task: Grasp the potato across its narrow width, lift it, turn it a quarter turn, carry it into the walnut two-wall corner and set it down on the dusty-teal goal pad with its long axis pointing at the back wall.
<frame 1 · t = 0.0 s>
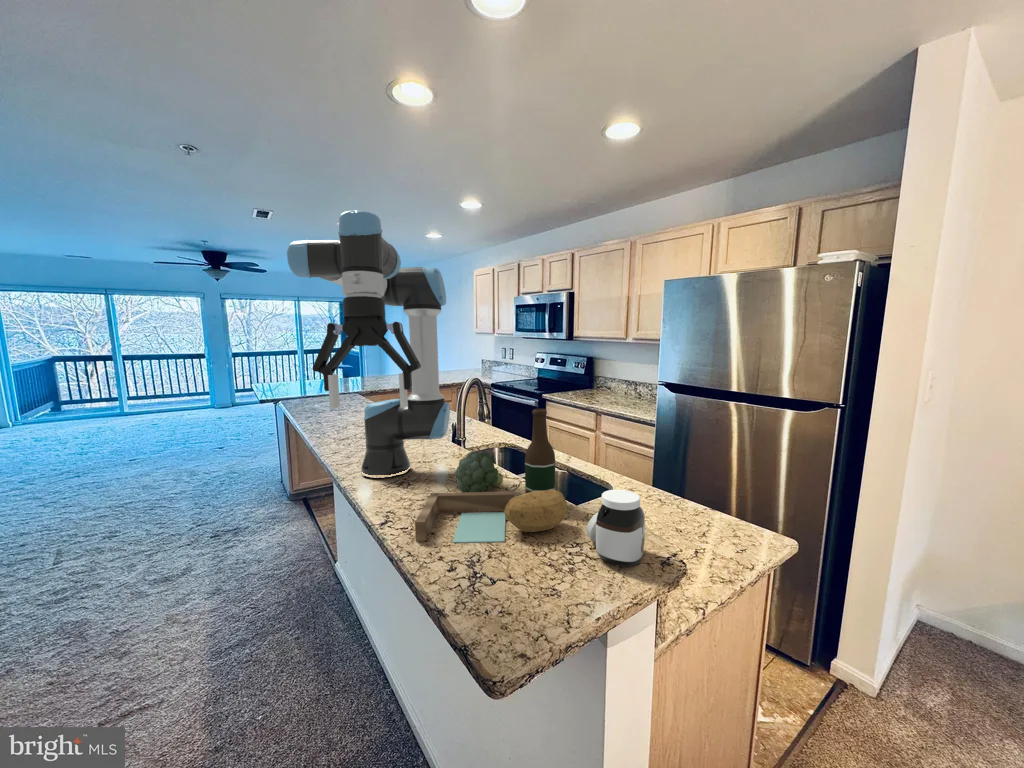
hand: (369, 407, 79), 28 cm above the worktop, fingers open, 13 cm apart
goal pad: (481, 526, 88), on the worktop
corner arena: (468, 523, 90), on the worktop
spread jar: (613, 553, 76), on the worktop
potato: (536, 530, 86), on the worktop
vegetable: (480, 492, 110), on the worktop
beer bottle: (540, 505, 100), on the worktop
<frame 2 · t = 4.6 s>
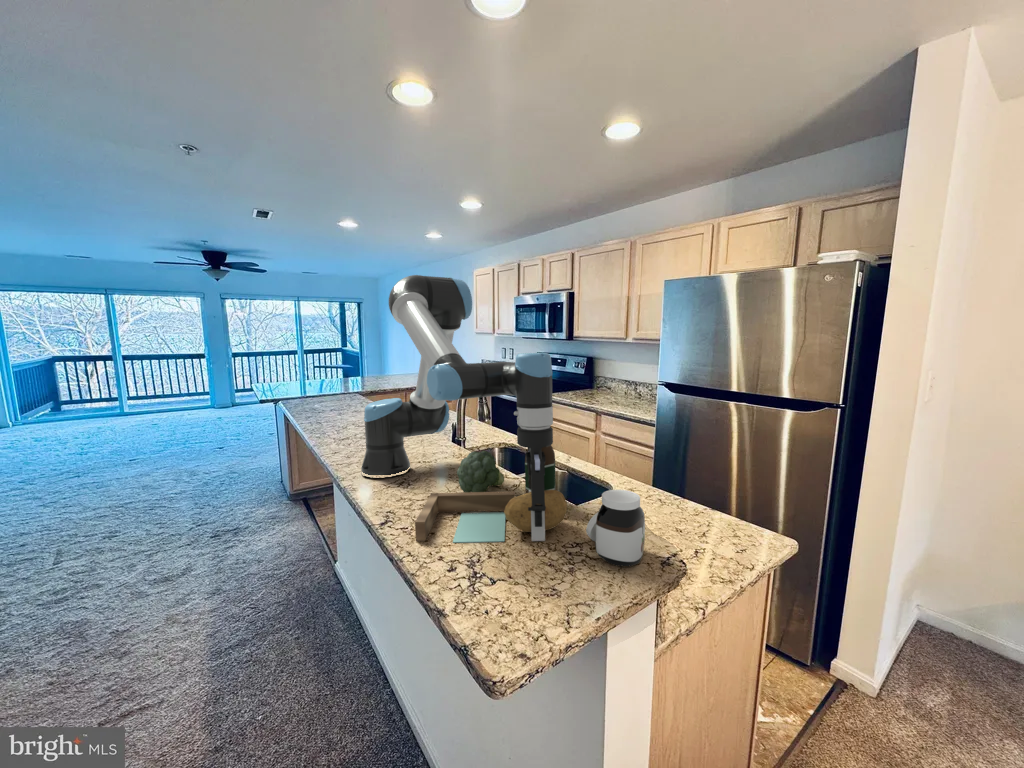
hand: (536, 528, 86), 0 cm above the worktop, fingers closed on potato, 10 cm apart
potato: (536, 530, 86), on the worktop, touching gripper
everything else where it was.
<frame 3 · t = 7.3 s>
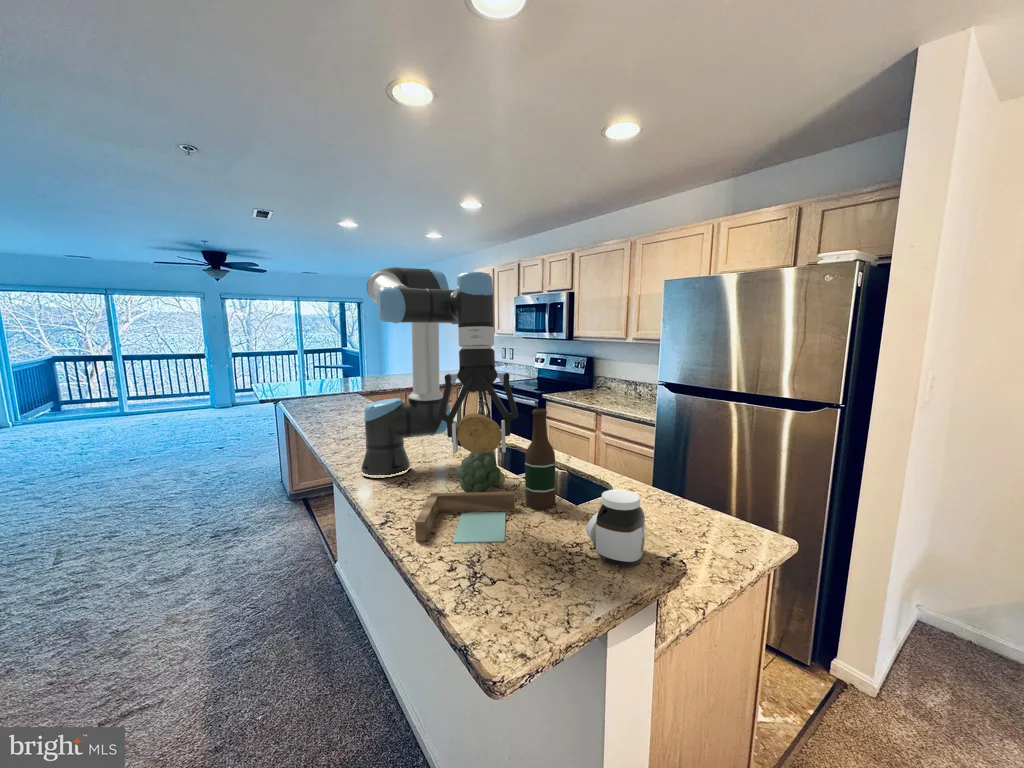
hand: (479, 451, 87), 17 cm above the worktop, fingers closed on potato, 10 cm apart
potato: (480, 453, 87), point 16 cm above the worktop, touching gripper
everything else where it was.
when the fingers open (2 cm above the worktop, at t = 9.7 s): potato drops 1 cm, resting on goal pad.
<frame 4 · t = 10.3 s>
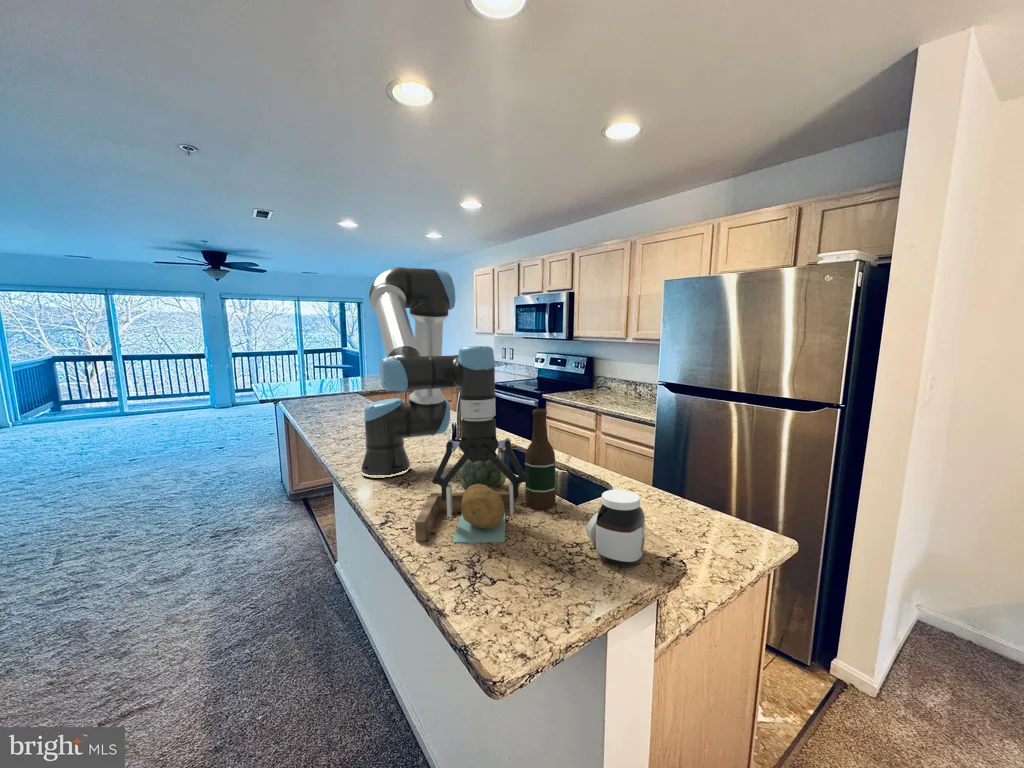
hand: (480, 513, 88), 3 cm above the worktop, fingers open, 13 cm apart
potato: (483, 526, 88), resting on goal pad
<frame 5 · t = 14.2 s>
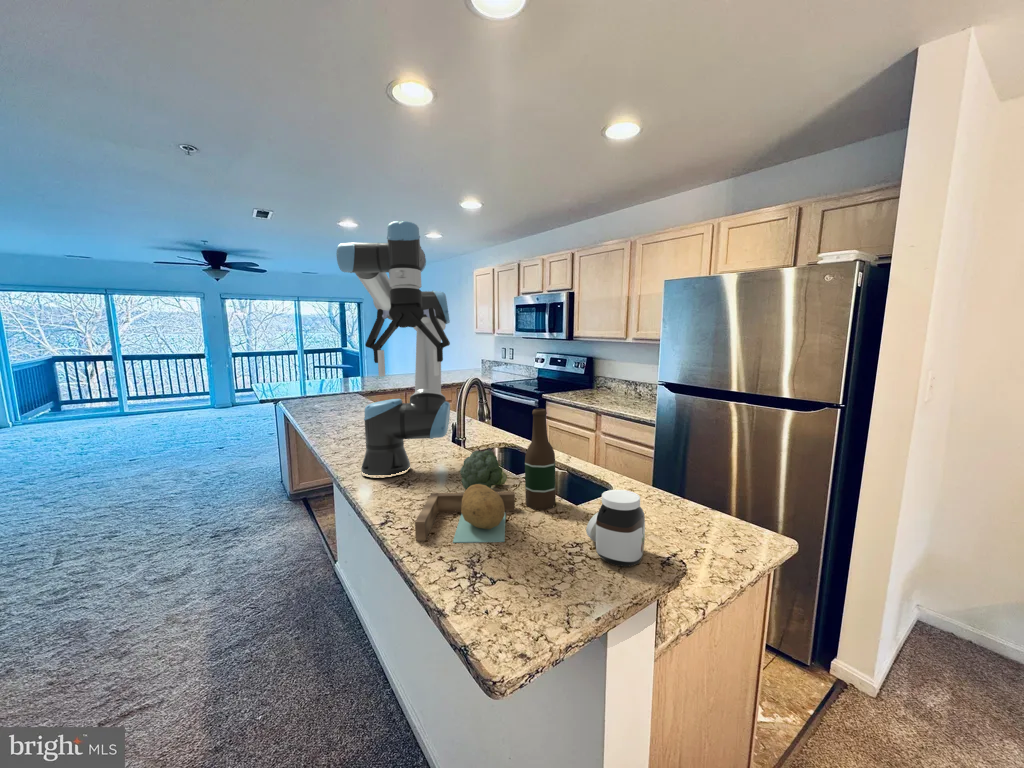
hand: (409, 376, 99), 33 cm above the worktop, fingers open, 13 cm apart
at the end: potato inside the target area (0.5 cm from its centre), resting on goal pad; the gripper is holding nothing; potato moved 11.6 cm from its start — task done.
